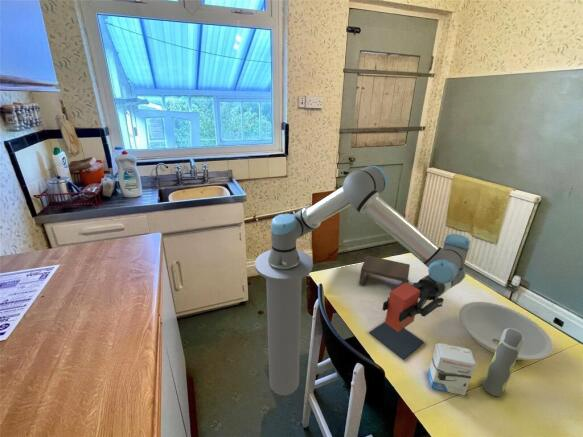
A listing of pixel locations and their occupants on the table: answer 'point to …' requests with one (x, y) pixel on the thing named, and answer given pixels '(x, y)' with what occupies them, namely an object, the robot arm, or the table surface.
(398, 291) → the block
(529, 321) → the soup bowl
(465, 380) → the ink box
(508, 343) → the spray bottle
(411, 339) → the mat
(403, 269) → the shelf
